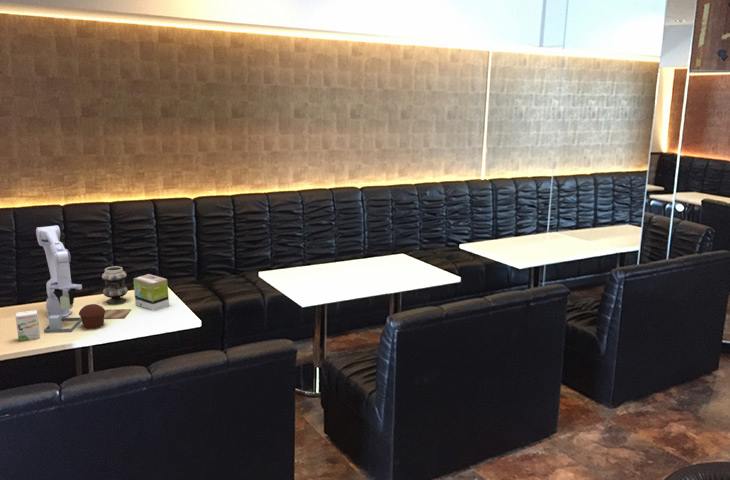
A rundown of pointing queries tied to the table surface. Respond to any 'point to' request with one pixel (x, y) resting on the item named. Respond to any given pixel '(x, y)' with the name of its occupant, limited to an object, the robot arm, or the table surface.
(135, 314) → the table surface
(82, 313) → the muffin
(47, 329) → the parts tray
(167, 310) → the table surface
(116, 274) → the apothecary jar
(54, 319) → the blue block
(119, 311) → the walnut board
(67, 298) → the sage block
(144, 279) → the tea box
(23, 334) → the ink box
